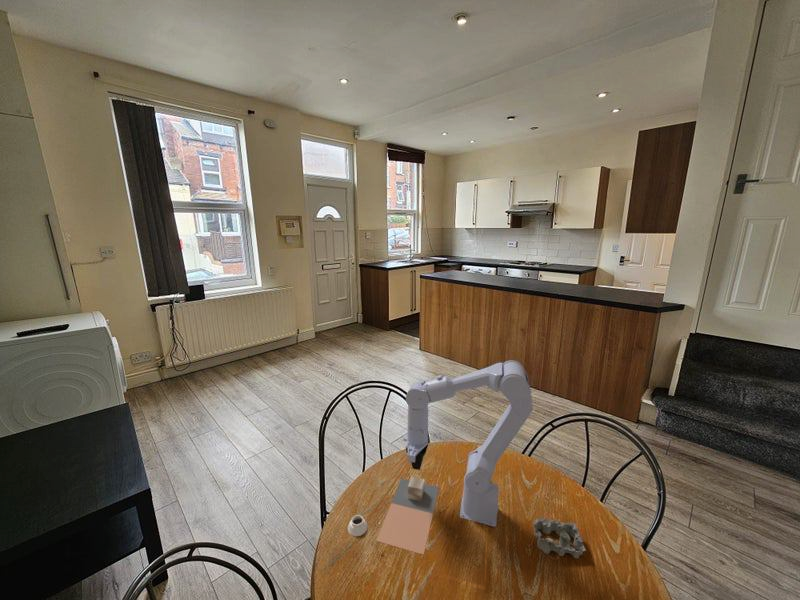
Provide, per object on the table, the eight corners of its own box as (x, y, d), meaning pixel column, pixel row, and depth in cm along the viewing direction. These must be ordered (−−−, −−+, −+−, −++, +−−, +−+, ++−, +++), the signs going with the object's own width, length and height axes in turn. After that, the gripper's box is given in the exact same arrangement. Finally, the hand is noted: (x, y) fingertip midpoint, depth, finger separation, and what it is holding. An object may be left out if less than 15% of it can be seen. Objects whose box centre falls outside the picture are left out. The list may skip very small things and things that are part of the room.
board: (439, 488, 97) (439, 486, 96) (423, 556, 76) (423, 554, 76) (401, 479, 100) (401, 478, 100) (376, 542, 79) (376, 540, 79)
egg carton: (537, 553, 77) (538, 539, 76) (531, 526, 84) (532, 513, 84) (585, 563, 75) (587, 548, 74) (575, 534, 82) (577, 520, 81)
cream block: (424, 491, 95) (424, 479, 94) (421, 501, 91) (421, 489, 90) (411, 488, 96) (411, 476, 95) (407, 498, 92) (407, 486, 91)
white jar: (356, 518, 86) (343, 531, 82) (356, 508, 86) (343, 522, 82) (371, 527, 84) (358, 542, 79) (371, 517, 83) (358, 532, 79)
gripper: (410, 409, 97) (409, 449, 100) (396, 437, 83) (395, 482, 86) (433, 413, 95) (432, 453, 98) (422, 442, 81) (421, 488, 84)
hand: (416, 467), depth 92 cm, fingers closed
